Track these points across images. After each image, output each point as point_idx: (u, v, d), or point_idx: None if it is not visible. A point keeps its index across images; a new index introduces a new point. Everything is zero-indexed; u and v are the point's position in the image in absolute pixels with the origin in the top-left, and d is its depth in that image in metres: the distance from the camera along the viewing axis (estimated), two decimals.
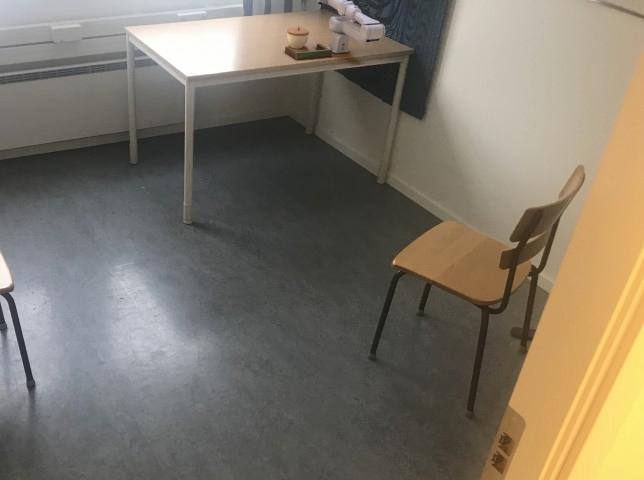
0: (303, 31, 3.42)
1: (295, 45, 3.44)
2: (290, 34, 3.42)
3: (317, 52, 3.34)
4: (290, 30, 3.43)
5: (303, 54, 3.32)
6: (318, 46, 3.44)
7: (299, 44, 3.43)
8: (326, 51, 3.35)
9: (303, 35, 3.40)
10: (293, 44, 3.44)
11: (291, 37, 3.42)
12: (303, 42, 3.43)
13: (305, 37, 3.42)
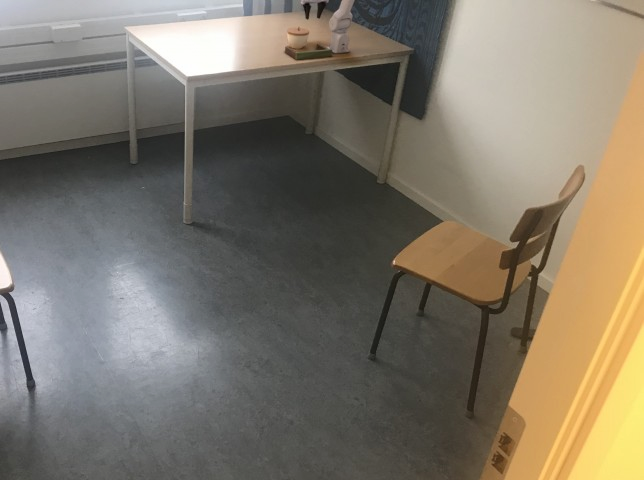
0: (303, 31, 3.42)
1: (295, 45, 3.44)
2: (290, 34, 3.42)
3: (317, 52, 3.34)
4: (290, 30, 3.43)
5: (303, 54, 3.32)
6: (318, 46, 3.44)
7: (299, 44, 3.43)
8: (326, 51, 3.35)
9: (303, 35, 3.40)
10: (293, 44, 3.44)
11: (291, 37, 3.42)
12: (303, 42, 3.43)
13: (305, 37, 3.42)
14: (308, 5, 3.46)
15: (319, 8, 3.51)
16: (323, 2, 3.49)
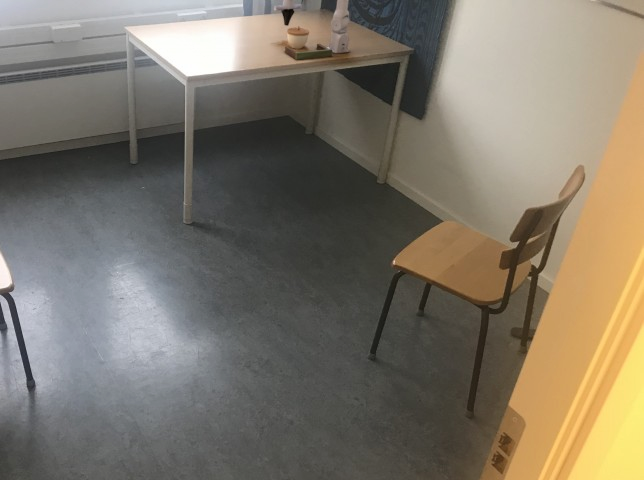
0: (303, 31, 3.42)
1: (295, 45, 3.44)
2: (290, 34, 3.42)
3: (317, 52, 3.34)
4: (290, 30, 3.43)
5: (303, 54, 3.32)
6: (318, 46, 3.44)
7: (299, 44, 3.43)
8: (326, 51, 3.35)
9: (303, 35, 3.40)
10: (293, 44, 3.44)
11: (291, 37, 3.42)
12: (303, 42, 3.43)
13: (305, 37, 3.42)
14: (286, 11, 3.48)
15: None
16: None
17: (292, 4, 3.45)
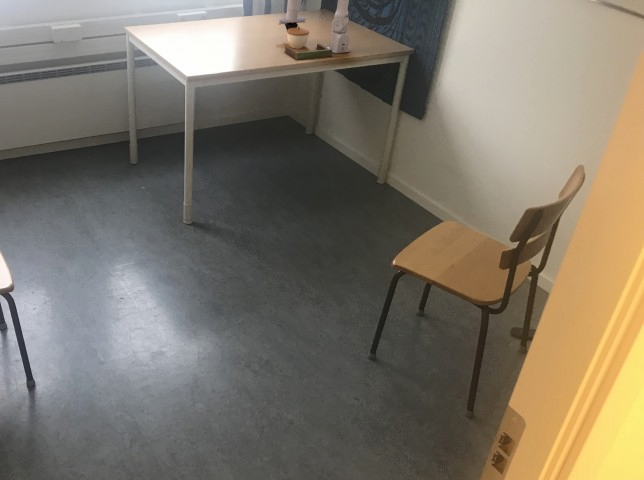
0: (303, 31, 3.42)
1: (295, 45, 3.44)
2: (290, 34, 3.42)
3: (317, 52, 3.34)
4: (290, 30, 3.43)
5: (303, 54, 3.32)
6: (318, 46, 3.44)
7: (299, 44, 3.43)
8: (326, 51, 3.35)
9: (303, 35, 3.40)
10: (293, 44, 3.44)
11: (291, 37, 3.42)
12: (303, 42, 3.43)
13: (305, 37, 3.42)
14: (290, 25, 3.47)
15: None
16: (300, 22, 3.49)
17: (296, 18, 3.45)
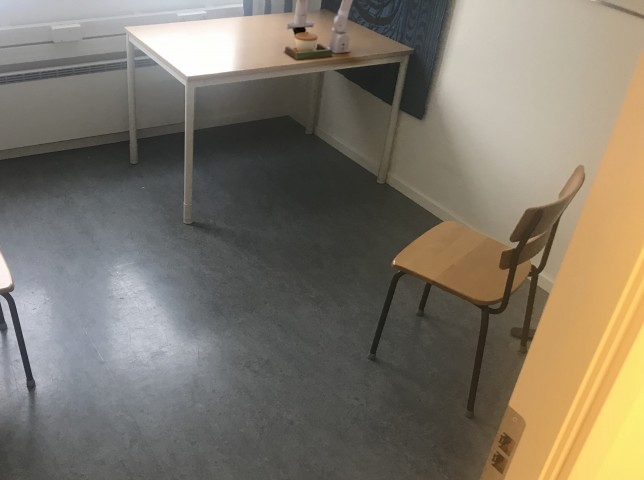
0: (311, 36, 3.36)
1: (303, 50, 3.38)
2: (298, 39, 3.35)
3: (317, 52, 3.34)
4: (298, 35, 3.37)
5: (303, 54, 3.32)
6: (318, 46, 3.44)
7: (307, 49, 3.37)
8: (326, 51, 3.35)
9: (311, 40, 3.34)
10: (301, 49, 3.38)
11: (299, 42, 3.36)
12: (311, 47, 3.37)
13: (313, 42, 3.35)
14: (298, 29, 3.41)
15: None
16: None
17: (304, 22, 3.39)
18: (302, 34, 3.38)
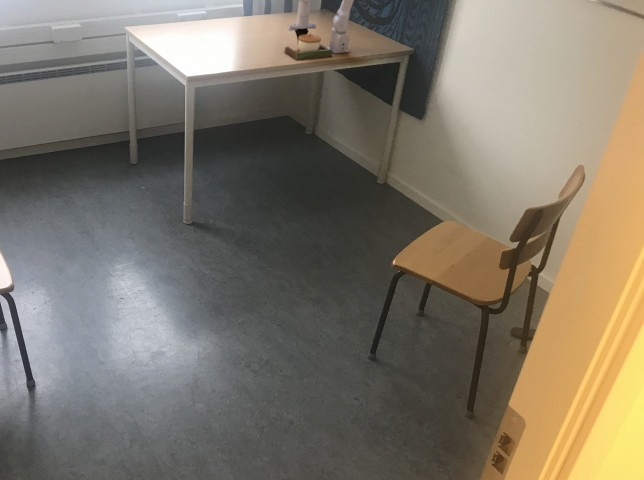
0: (315, 38, 3.33)
1: None
2: (302, 41, 3.33)
3: (317, 52, 3.34)
4: (301, 37, 3.34)
5: (303, 54, 3.32)
6: None
7: None
8: (326, 51, 3.35)
9: (315, 42, 3.32)
10: None
11: (303, 44, 3.33)
12: (315, 49, 3.34)
13: (317, 44, 3.33)
14: (300, 31, 3.39)
15: None
16: (310, 28, 3.41)
17: (306, 24, 3.37)
18: (305, 36, 3.35)
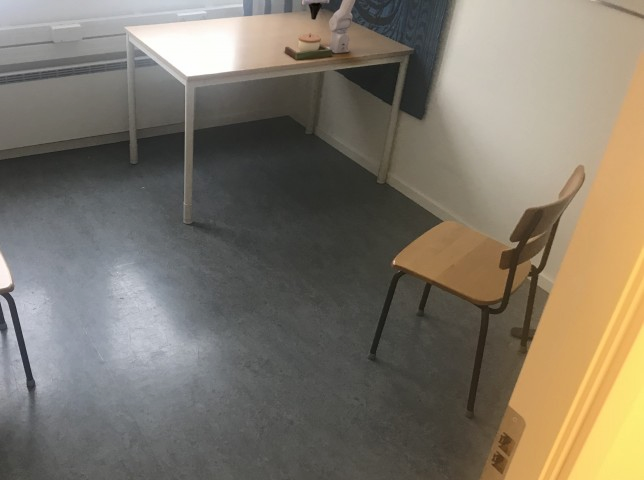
0: (315, 38, 3.33)
1: None
2: (302, 41, 3.33)
3: (317, 52, 3.34)
4: (301, 37, 3.34)
5: (303, 54, 3.32)
6: None
7: None
8: (326, 51, 3.35)
9: (315, 42, 3.32)
10: None
11: (303, 44, 3.33)
12: (315, 49, 3.34)
13: (317, 44, 3.33)
14: (314, 5, 3.46)
15: None
16: (324, 2, 3.48)
17: None
18: (305, 36, 3.35)
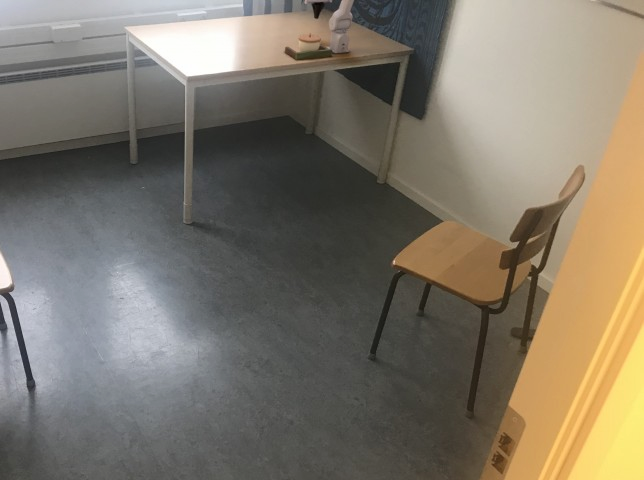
0: (315, 38, 3.33)
1: None
2: (302, 41, 3.33)
3: (317, 52, 3.34)
4: (301, 37, 3.34)
5: (303, 54, 3.32)
6: None
7: None
8: (326, 51, 3.35)
9: (315, 42, 3.32)
10: None
11: (303, 44, 3.33)
12: (315, 49, 3.34)
13: (317, 44, 3.33)
14: (317, 4, 3.48)
15: None
16: None
17: None
18: (305, 36, 3.35)
